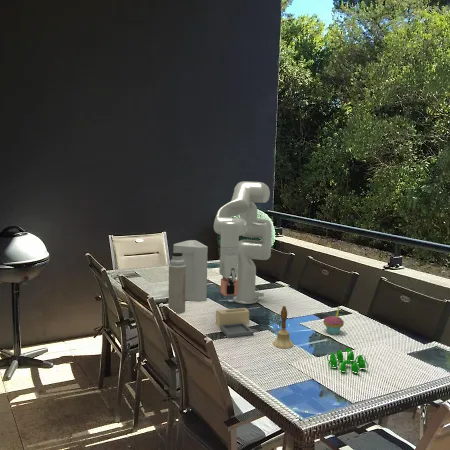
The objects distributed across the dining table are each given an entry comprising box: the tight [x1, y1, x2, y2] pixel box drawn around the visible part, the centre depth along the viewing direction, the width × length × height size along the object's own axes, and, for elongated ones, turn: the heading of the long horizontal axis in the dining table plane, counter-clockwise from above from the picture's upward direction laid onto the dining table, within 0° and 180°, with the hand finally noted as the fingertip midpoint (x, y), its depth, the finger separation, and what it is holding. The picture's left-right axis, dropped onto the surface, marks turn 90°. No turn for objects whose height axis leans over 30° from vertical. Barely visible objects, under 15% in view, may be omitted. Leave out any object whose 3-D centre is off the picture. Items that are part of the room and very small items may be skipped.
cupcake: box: [322, 305, 345, 335], centre depth 217 cm, size 9×8×12 cm
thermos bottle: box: [167, 252, 186, 314], centre depth 239 cm, size 8×8×28 cm
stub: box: [220, 277, 238, 297], centre depth 214 cm, size 6×5×6 cm
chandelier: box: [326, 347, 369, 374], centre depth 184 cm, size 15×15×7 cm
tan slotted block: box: [215, 307, 250, 328], centre depth 225 cm, size 14×5×6 cm, turn 111°
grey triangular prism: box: [172, 239, 209, 303], centre depth 261 cm, size 19×15×28 cm
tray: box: [219, 323, 254, 339], centre depth 215 cm, size 11×11×2 cm
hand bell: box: [272, 305, 294, 350], centre depth 202 cm, size 8×8×16 cm
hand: (228, 291), depth 214 cm, fingers closed on stub, 5 cm apart
